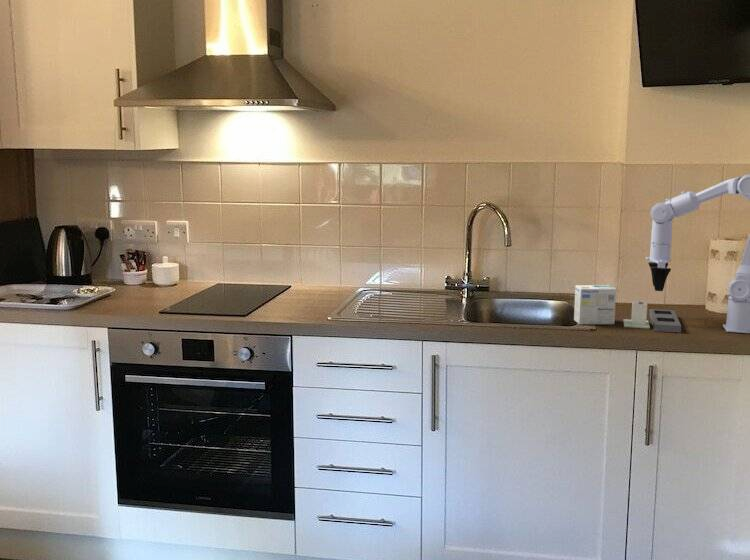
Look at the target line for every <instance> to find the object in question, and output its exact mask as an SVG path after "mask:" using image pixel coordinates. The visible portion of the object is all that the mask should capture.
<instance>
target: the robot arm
mask: <svg viewBox="0 0 750 560" xmlns="http://www.w3.org/2000/svg"><path fill="white" fill-rule="evenodd" d="M727 194H731V195H739V194H740V195H741V197H743V198H745V199H747V200H748V201H749V202H750V173H748V174H745V175H743V176H738V177H734V178H729V179H727V180H724V181H722V182H719V183H716V184H715V185H713V186H710V187H708V188H706V189H703V190H702V191H698V192H694V191H692V190H690V191H687V190H683V191H681V192H680V194H679V195H677V196H674V197H672V198H670V197H668V198H666V199H665V202H657V203H656V204H654V206H652V208H651V209H650V212H649V213H650V217H651V220H652V222H651V226H652V227H651V234H650V248H649V250H650V251H649V256H646V257H645V260H646V261H650V262H647V264H648V266H649V268H650V272H651V281H652V286H653V287H654V290H655V292H664V288H665V284H666V280H667V278H668V276H669V274H670V272H671V270H672V268H670V267H669V268H668V266H669V263H670V262H671V261H672V258H671V252H672V238H673V237H672V236H673V220H674V219H675V218H679V217H682V216H684V215H687V214H690V213H692V212H695V211H697V210H699V209H700V206H701V204H702V203H705V202H707V201H710V200H714V199H716V198H718V197H719V198H720V197H721V196H723V195H727ZM727 291H728V294H729V296H728V298H727V309H726V319H725V321H726V323H724V324H722V327H723V328H724V330H725V332H727V333H740V334H741V333H742V334H750V233H749V235H748V239H747V242H746V246H745V249H744V251H743V255H742V258H741V261H740V264H739V266H738V268H737V271H736V273H735V276H734V278H733V279H732V280H731V281H730V283H729V284H728V286H727Z"/></svg>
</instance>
